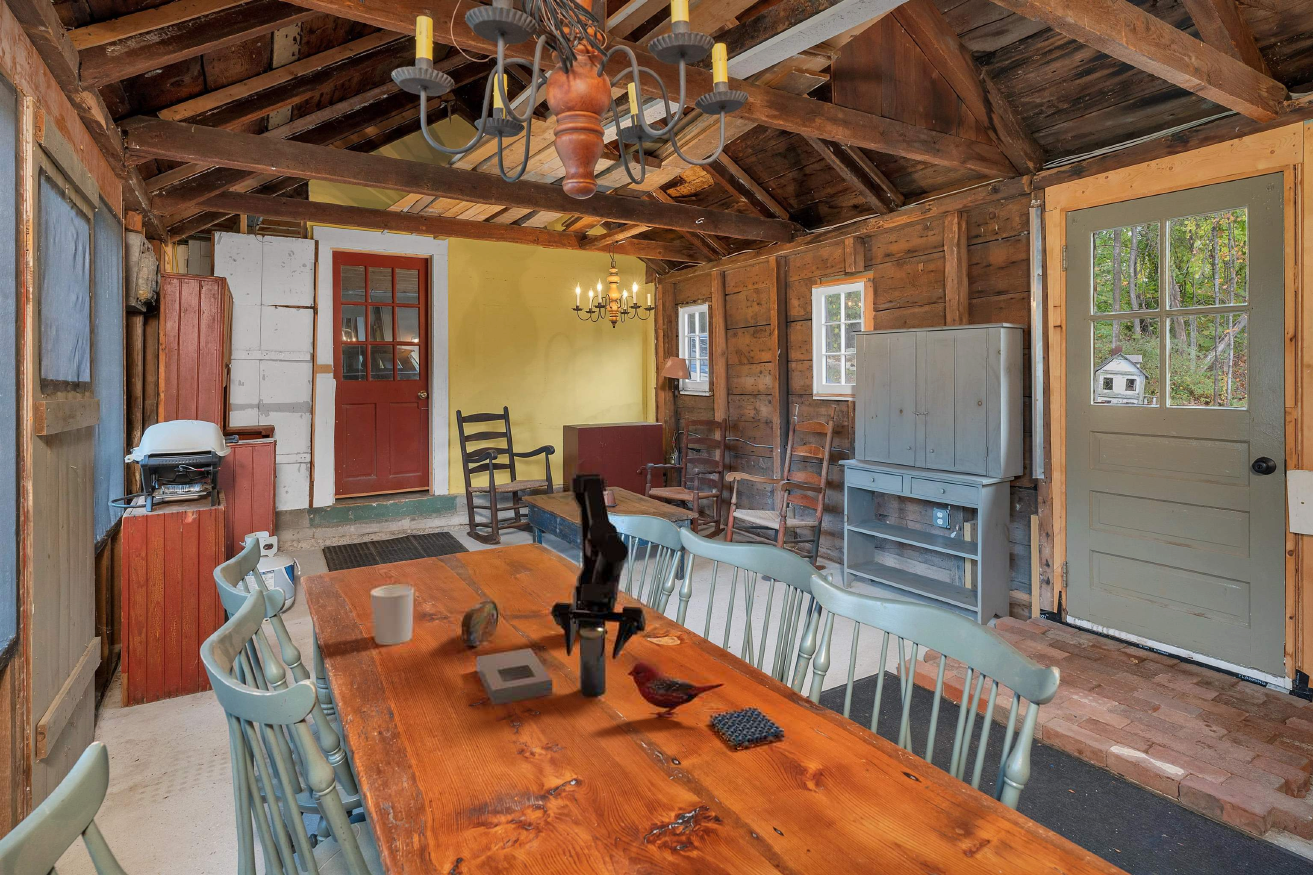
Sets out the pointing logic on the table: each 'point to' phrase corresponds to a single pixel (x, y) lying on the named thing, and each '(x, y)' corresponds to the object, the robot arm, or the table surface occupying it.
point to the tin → (479, 623)
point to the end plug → (592, 660)
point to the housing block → (513, 676)
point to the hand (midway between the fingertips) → (590, 656)
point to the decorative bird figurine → (665, 688)
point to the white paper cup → (392, 613)
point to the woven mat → (747, 728)
